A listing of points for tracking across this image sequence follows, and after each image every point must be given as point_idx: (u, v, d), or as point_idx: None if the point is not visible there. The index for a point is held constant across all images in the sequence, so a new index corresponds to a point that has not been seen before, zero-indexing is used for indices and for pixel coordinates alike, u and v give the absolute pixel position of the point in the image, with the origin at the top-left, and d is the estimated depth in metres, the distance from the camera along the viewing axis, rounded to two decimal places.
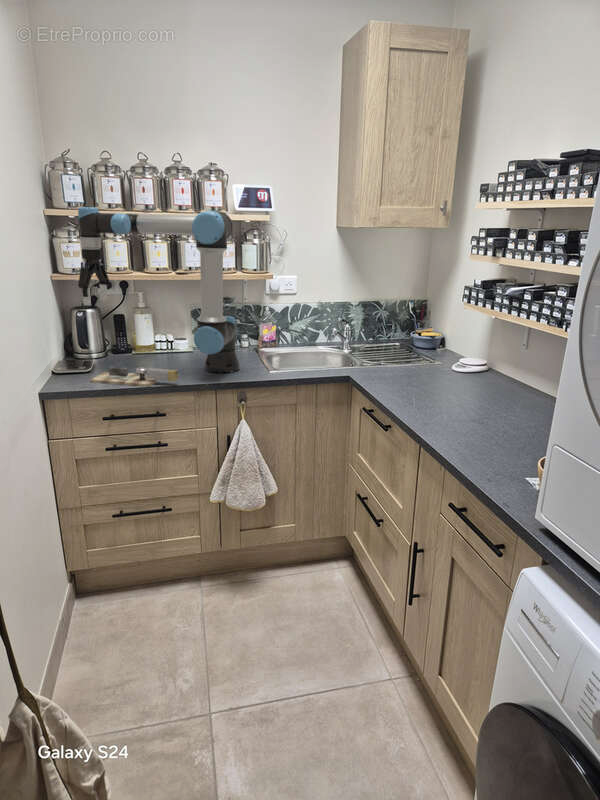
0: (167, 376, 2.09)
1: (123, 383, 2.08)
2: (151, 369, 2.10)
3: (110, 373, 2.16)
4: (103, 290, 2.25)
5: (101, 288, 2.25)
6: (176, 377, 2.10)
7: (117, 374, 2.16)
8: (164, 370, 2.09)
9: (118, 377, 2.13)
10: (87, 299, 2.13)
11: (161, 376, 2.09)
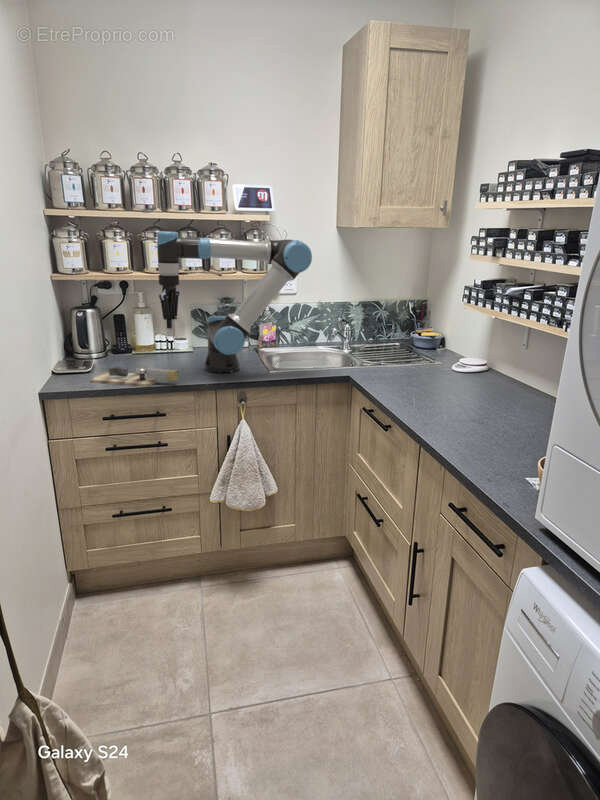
0: (167, 376, 2.09)
1: (123, 383, 2.08)
2: (151, 369, 2.10)
3: (110, 373, 2.16)
4: None
5: None
6: (176, 377, 2.10)
7: (117, 374, 2.16)
8: (164, 370, 2.09)
9: (118, 377, 2.13)
10: (170, 331, 2.10)
11: (161, 376, 2.09)
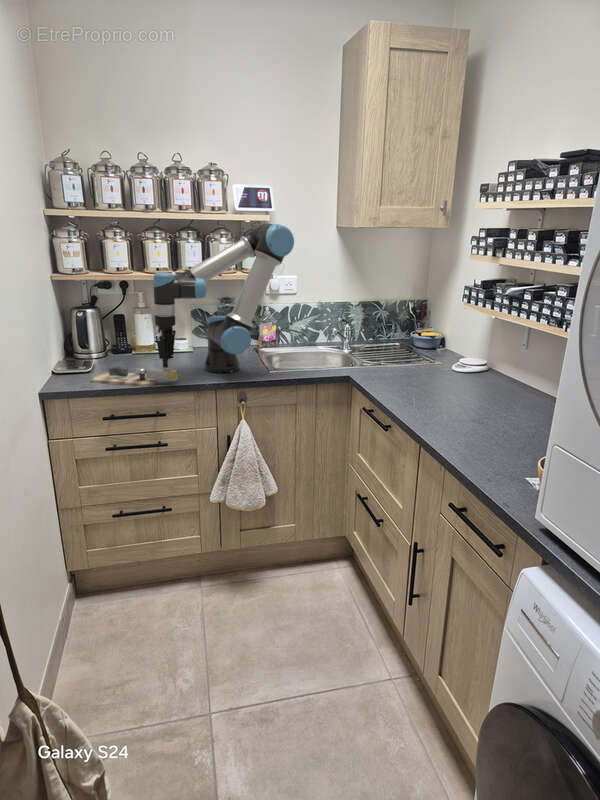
0: (167, 376, 2.08)
1: (123, 383, 2.08)
2: (151, 369, 2.10)
3: (110, 373, 2.16)
4: None
5: None
6: (176, 377, 2.09)
7: (117, 374, 2.16)
8: (164, 370, 2.09)
9: (118, 377, 2.13)
10: None
11: (161, 376, 2.09)
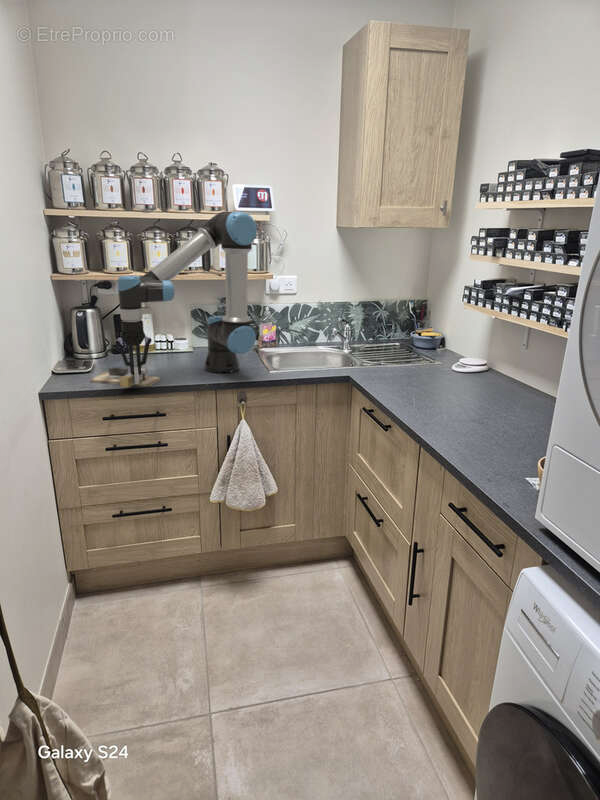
0: None
1: None
2: None
3: (110, 373, 2.16)
4: None
5: None
6: (124, 384, 1.98)
7: (117, 374, 2.16)
8: (129, 374, 2.02)
9: (118, 377, 2.13)
10: (134, 378, 2.01)
11: None
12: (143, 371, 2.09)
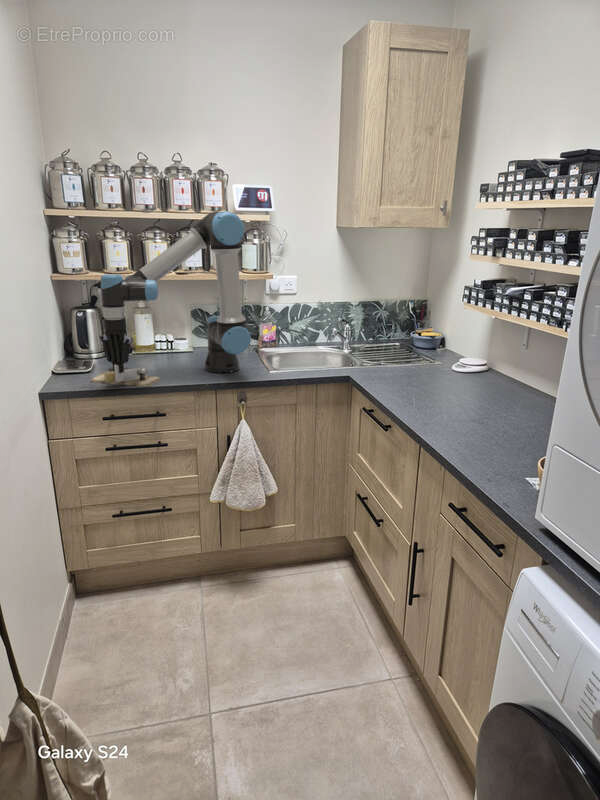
0: None
1: (123, 383, 2.08)
2: (131, 369, 2.09)
3: None
4: None
5: None
6: (105, 379, 2.04)
7: None
8: None
9: None
10: None
11: None
12: (139, 371, 2.09)
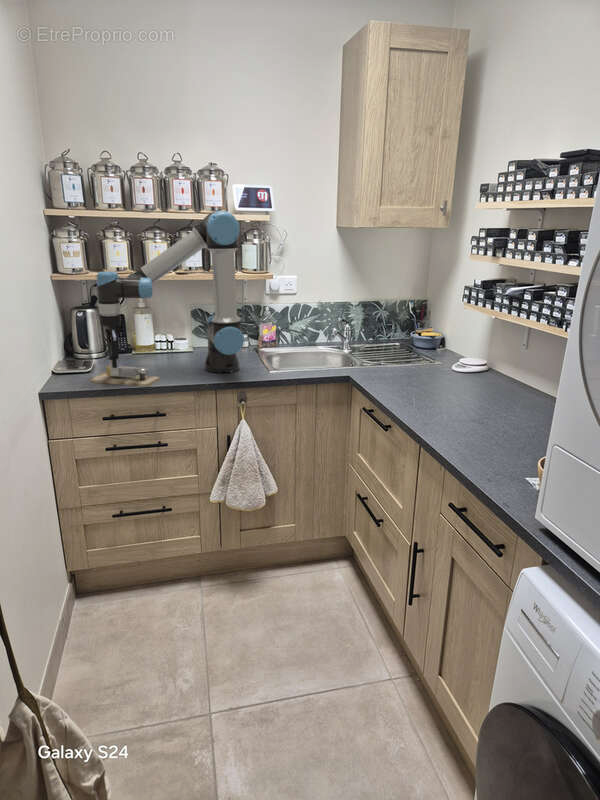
0: None
1: (123, 383, 2.08)
2: (132, 367, 2.11)
3: None
4: None
5: None
6: None
7: None
8: (119, 366, 2.12)
9: (118, 377, 2.13)
10: None
11: None
12: (136, 370, 2.10)
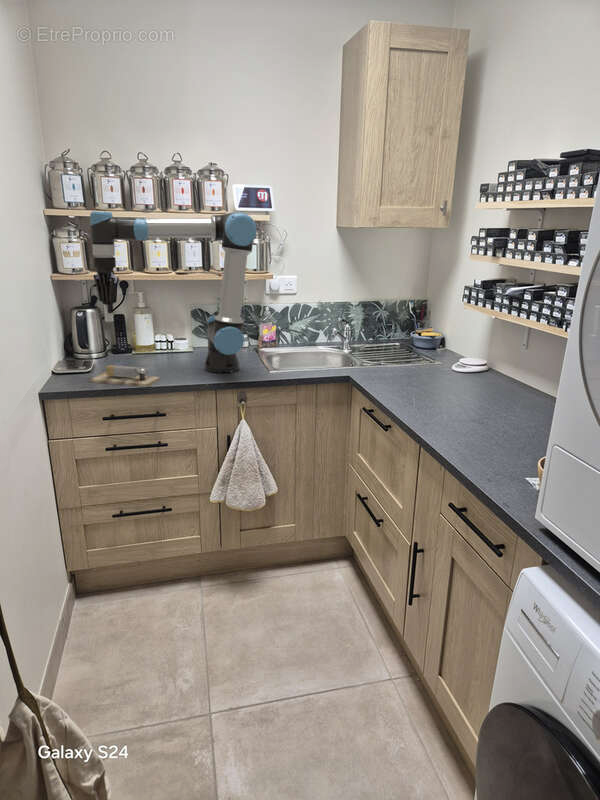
0: None
1: (123, 383, 2.08)
2: (132, 367, 2.11)
3: None
4: None
5: None
6: None
7: None
8: (119, 366, 2.12)
9: (118, 377, 2.13)
10: None
11: None
12: (136, 370, 2.10)
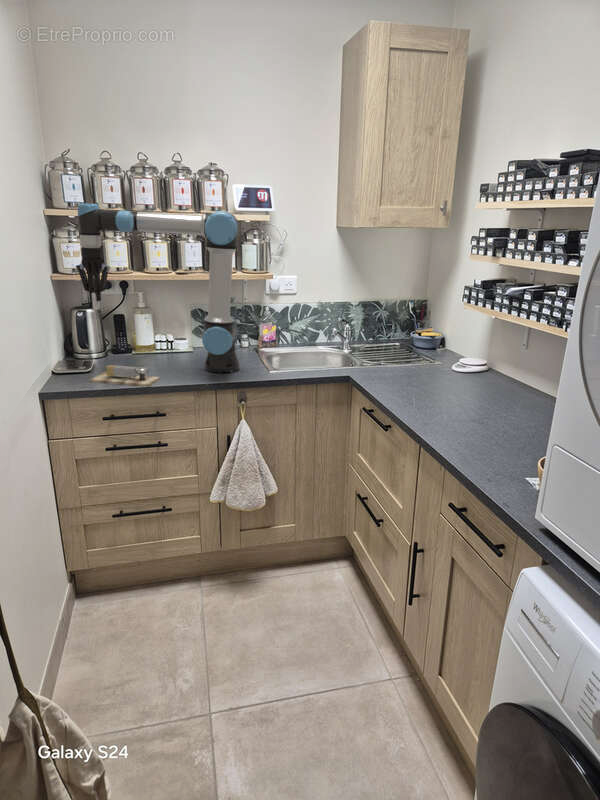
0: None
1: (123, 383, 2.08)
2: (132, 367, 2.11)
3: None
4: None
5: None
6: None
7: None
8: (119, 366, 2.12)
9: (118, 377, 2.13)
10: None
11: None
12: (136, 370, 2.10)
